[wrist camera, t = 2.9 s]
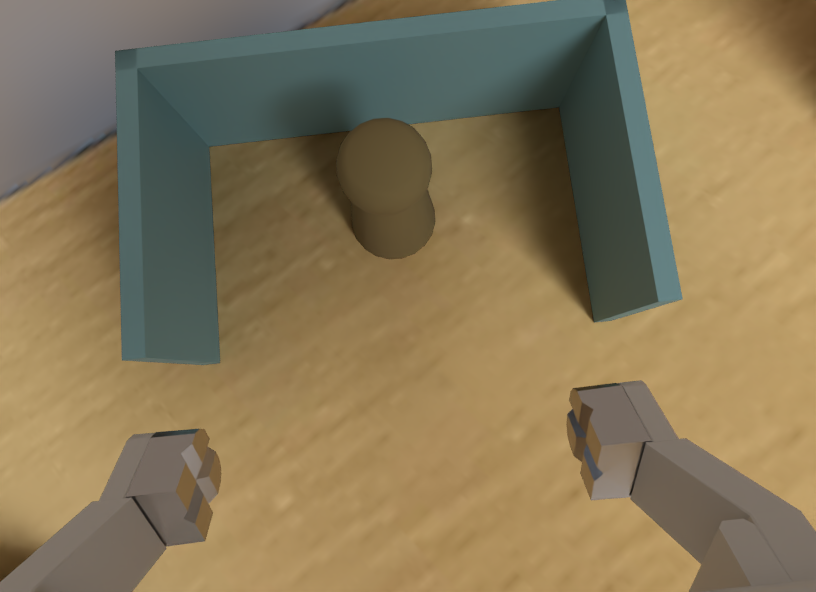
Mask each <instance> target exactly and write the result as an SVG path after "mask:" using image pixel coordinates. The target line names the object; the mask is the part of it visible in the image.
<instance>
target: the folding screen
mask: <svg viewBox="0 0 816 592" xmlns="http://www.w3.org/2000/svg"><path fill="white" fill-rule="evenodd" d="M115 67H116V112H117V158H118V203H119V249H120V295H121V340H122V360H125V361H143V362H160V363H177V364H195V365H208V364H217V363H220V349H219V330H218V310H217V290H216V271H215V251H214V231H213V212H212V192H211V172H210V152H209V147H210V146H219V145H228V144H237V143H246V142H255V141H264V140H273V139H282V138H290V137H299V136H308V135H317V134H326V133H335V132H344V131H352V130H353V129H354V128H355V127H357V126H358V125H359V124H361V123H364V122H366V121H369V120H372V119H377V118H391V119H396V120H400V121H403V122H405V123H406V124H415V123H424V122H433V121H441V120H450V119H459V118H468V117H477V116H486V115H495V114H504V113H513V112H521V111H530V110H539V109H548V108H557V107H559V110H560V116H561V122H562V128H563V134H564V140H565V147H566V153H567V159H568V165H569V171H570V177H571V183H572V190H573V196H574V202H575V208H576V214H577V220H578V226H579V233H580V239H581V245H582V251H583V257H584V263H585V270H586V276H587V282H588V288H589V294H590V300H591V306H592V313H593V319H594V322H603V321H612V320H615V319H618V318H622V317H625V316H628V315H632V314H635V313H638V312H642V311H645V310H648V309H652V308H655V307H658V306H662V305H665V304H668V303H672V302H675V301H678V300H682V294H681V288H680V283H679V278H678V273H677V267H676V262H675V257H674V252H673V246H672V241H671V236H670V231H669V225H668V220H667V215H666V210H665V204H664V199H663V194H662V188H661V183H660V178H659V173H658V167H657V162H656V157H655V152H654V146H653V141H652V136H651V131H650V125H649V120H648V115H647V110H646V104H645V99H644V94H643V89H642V83H641V78H640V73H639V68H638V62H637V57H636V52H635V47H634V41H633V36H632V31H631V26H630V20H629V15H628V10H627V5H626V0H556V1H547V2H539V3H530V4H521V5H512V6H504V7H495V8H486V9H477V10H469V11H460V12H451V13H442V14H434V15H425V16H416V17H407V18H399V19H390V20H381V21H373V22H364V23H355V24H346V25H338V26H329V27H320V28H311V29H303V30H294V31H285V32H276V33H268V34H259V35H250V36H242V37H233V38H224V39H215V40H206V41H198V42H189V43H181V44H171V45H163V46H154V47H145V48H136V49H128V50H119V51H115Z"/></svg>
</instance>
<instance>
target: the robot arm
mask: <svg viewBox="0 0 816 592" xmlns="http://www.w3.org/2000/svg"><path fill="white" fill-rule="evenodd" d="M569 401H570V403H571V406H572V408H573V409H572V410H571V411H570V412H569V413H568V414H567V424H566V425H567V435H568V440H569V444H570V447H571V450H572V453H573V455H574V456H575V457H576V458H577V459H578V460H580V461H581V462H582V466H581V472H580V474H581V476H582V479H583V481H584V484H585V487H586V489H587V492H588V494H589V497H590V499H591V500H600V499H612V498H625V497H631V500H632V501H633V502H634V503H635V504H636V505H637V506H638V507H640V508H641V509H642V510H643V511H644V512H645V513H646V514H647V515H648V516H649V517H650V518H652V519H653V520H654V521H655V522H656V523H657V524H658V525H659V526H660V527H661V528H662V529H664V530H665V531H666V532H667V533H668V534H669V535H670V536H671V537H672V538H673V539H674V540H676V541H677V542H678V543H679V544H680V545H681V546H682V547H683V548H684V549H685V550H686V551H688V552H689V553H690V554H691V555H692V556H693V557H694V558H695V559H696V560H697V561H698V562H699V563H701V567H700V569H699V571H698V573H697V575H696V577H695V579H694V582H693V584H692V586H691V588H690V590H689V592H816V531H815V530H814V529H813V527H812V526H811V525H810V523H809V522H808V520H807V519H806V518H805V516H804V515H803V514H802V512H801V511H800V510H798V509H797V508H795V507H793V506H792V505H790V504H789V503H787V502H786V501H784V500H782V499H781V498H779V497H778V496H776V495H775V494H773V493H771V492H770V491H768V490H767V489H765V488H764V487H762V486H760V485H759V484H757V483H756V482H754V481H752V480H751V479H749V478H748V477H746V476H745V475H743V474H741V473H740V472H738V471H737V470H735V469H734V468H732V467H730V466H729V465H727V464H726V463H724V462H722V461H721V460H719V459H718V458H716V457H715V456H713V455H711V454H710V453H708V452H707V451H705V450H704V449H702V448H700V447H699V446H697V445H696V444H694V443H693V442H691V441H689V440H688V439H686V438H685V439H679V438H678V436H677V435H676V433H675V431H674V430H673V428H672V426H671V425H670V423H669V422H668V420H667V418H666V417H665V415H664V413H663V412H662V410H661V408H660V407H659V405H658V403H657V402H656V400H655V398H654V397H653V395H652V393H651V392H650V390H649V388H648V387H647V385H646V384H645V383H644V382H643V381H632V382H623V383H618V384H617V383H612V384H603V385H595V386H587V387H578V388H573V389H572V390H571V392H570V398H569ZM209 439H210V438H209V437H208V435H207V433H206V431H205V429H191V430H178V431H166V432H156V433H146V434H134V435H132V436H131V437H130V438H129V439H128V440H127V442H126V444H125V446H124V448H123V450H122V453H121V455H120V457H119V459H118V461H117V463H116V465H115V467H114V470H113V472H112V474H111V476H110V478H109V480H108V482H107V485H106V487H105V489H104V491H103V493H102V495H101V497H100V500H99V501H94V502H91V503H90V504H89V505H88V506H87V507H85V508H84V509H83V510H82V511H81V512H80V513H79V514H77V515H76V516H75V517H74V518H73V519H72V520H71V521H69V522H68V523H67V524H66V525H65V526H64V527H63V528H61V529H60V530H59V531H58V532H57V533H56V534H55V535H53V536H52V537H51V538H50V539H49V540H48V541H47V542H45V543H44V544H43V545H42V546H41V547H40V548H39V549H37V550H36V551H35V552H34V553H33V554H32V555H31V556H29V557H28V558H27V559H26V560H25V561H24V562H23V563H21V564H20V565H19V566H18V567H17V568H16V569H15V570H13V571H12V572H11V573H10V574H9V575H8V576H7V577H5V578H4V579H3V580H2V581H1V582H0V592H132V591H133V590H134V589H135V587H136V586H137V585H138V584H139V582H140V581H141V580H142V579H143V577H144V576H145V575H146V574H147V572H148V571H149V570H150V569H151V567H152V566H153V565H154V564H155V562H156V561H157V560H158V559H159V557H160V556H161V555H162V554H163V552H164V551H165V550H166V546H173V545H180V544H188V543H195V542H203V541H205V540H206V537H207V533H208V529H209V525H210V522H211V518H212V514H213V512H212V510H211V508H210V506H209V503H210V502H211V501H212V500H213V498H214V497H215V496H216V495H217V494H218V491H219V487H220V483H221V465H220V460H219V457H218V455H217V453H216V451H214V450H212V449H210V448H209V447H207V446H208V443H209Z"/></svg>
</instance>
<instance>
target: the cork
mask: <svg viewBox="0 0 816 592" xmlns="http://www.w3.org/2000/svg"><path fill="white" fill-rule="evenodd" d="M336 169H337V178H338V180H339V183H340V185H341V188H342V190H343V192H344V194H345V195H346V196H347V197H348V199H349V200H350V201H351V203H352V228H353V231H354V233H355V236H356V238H357V240H358V241H359V242H360V244H361V245H362V246H363V247H364V248H365V249H366V250H367V251H369V252H371V253H372V254H374V255H375V256H378V257H382V258H386V259H399V258H404V257H407V256H410V255H412V254H415V253H416V252H417V251H418V250H420V249H421V248H422V247H423V246H425V244H426V243H427V241H428V240H429V238H430V237H431V235H432V232H433V229H434V225H435V210H434V207H433V204H432V201H431V198H430V195H429V193H428V190H427V188H428V185H429V181H430V178H431V174H432V162H431V154H430V152H429V149H428V147H427V144H426V142H425V140H424V139H423V138H422V137H421V135H420V134H419V133H418V132H417V131H416V130H415V129H414V128H413V127H411V126H410V125H408V124H406V123H405V122H403V121H400V120H396V119H391V118H377V119H372V120H369V121H366V122H364V123H361V124H359V125H358V126H357V127H355V128H354V129H353V130H352V131H350V132H349V133H348V135H347V136H346V138H345V139H344V140H343V142H342V143H341V146H340V149H339V152H338V156H337V160H336Z"/></svg>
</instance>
